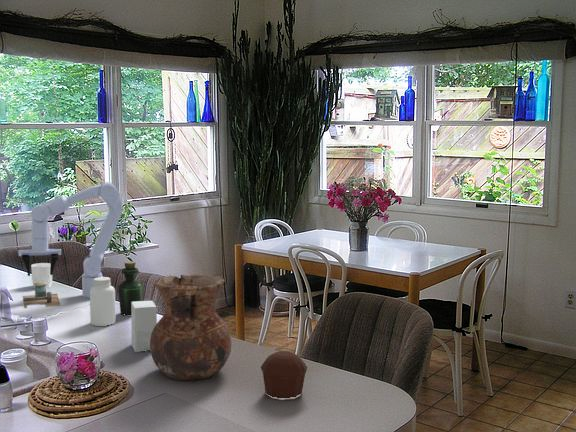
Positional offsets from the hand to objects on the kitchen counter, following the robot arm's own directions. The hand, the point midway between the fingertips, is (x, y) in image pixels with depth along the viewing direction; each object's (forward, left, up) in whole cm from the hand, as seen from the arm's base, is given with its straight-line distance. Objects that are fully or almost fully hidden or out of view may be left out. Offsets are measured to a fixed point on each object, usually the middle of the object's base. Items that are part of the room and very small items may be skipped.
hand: (40, 274), depth 245 cm
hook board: (-3, +3, -10) cm, 11 cm away
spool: (0, 0, -9) cm, 9 cm away
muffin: (-119, +30, -10) cm, 123 cm away
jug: (-91, +30, -10) cm, 97 cm away
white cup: (+15, -13, -10) cm, 22 cm away
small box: (-67, +21, -10) cm, 71 cm away
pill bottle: (-39, +9, -10) cm, 42 cm away
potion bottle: (-38, -5, -10) cm, 40 cm away
